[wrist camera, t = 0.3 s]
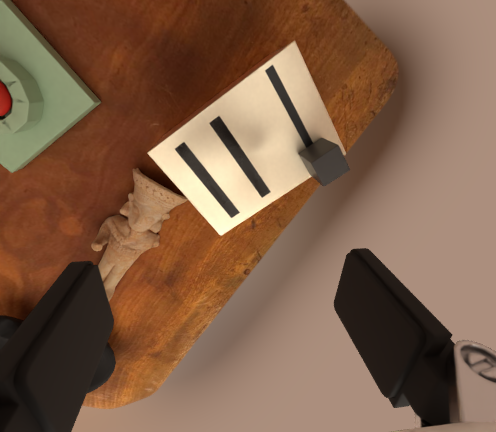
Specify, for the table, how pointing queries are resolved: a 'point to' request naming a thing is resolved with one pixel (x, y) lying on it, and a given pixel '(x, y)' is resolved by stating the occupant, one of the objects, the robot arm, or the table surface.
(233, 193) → the toaster
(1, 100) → the red button
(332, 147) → the block
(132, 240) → the figurine
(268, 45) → the table surface
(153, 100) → the table surface
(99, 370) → the oil lamp
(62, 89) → the block
